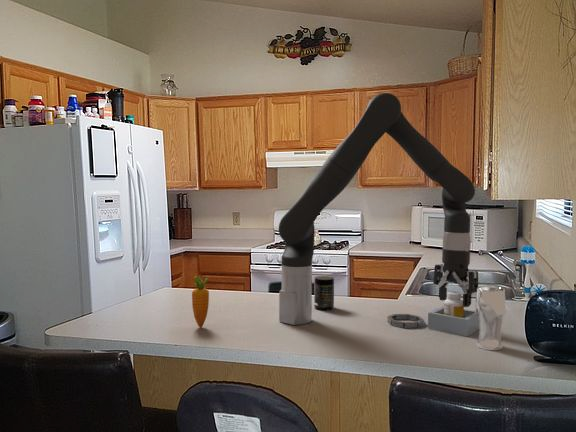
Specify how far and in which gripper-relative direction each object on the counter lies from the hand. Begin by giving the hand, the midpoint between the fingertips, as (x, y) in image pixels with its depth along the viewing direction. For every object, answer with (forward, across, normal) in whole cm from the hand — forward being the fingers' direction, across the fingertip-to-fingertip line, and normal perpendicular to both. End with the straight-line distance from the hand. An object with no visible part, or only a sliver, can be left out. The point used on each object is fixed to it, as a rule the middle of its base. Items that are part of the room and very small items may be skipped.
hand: (454, 303), depth 136 cm
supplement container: (+8, -37, -21) cm, 43 cm away
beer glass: (+7, +16, -5) cm, 18 cm away
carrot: (+8, -35, -65) cm, 74 cm away
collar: (+7, -10, -9) cm, 16 cm away
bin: (+7, 0, 0) cm, 7 cm away
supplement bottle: (+7, 0, 0) cm, 7 cm away
